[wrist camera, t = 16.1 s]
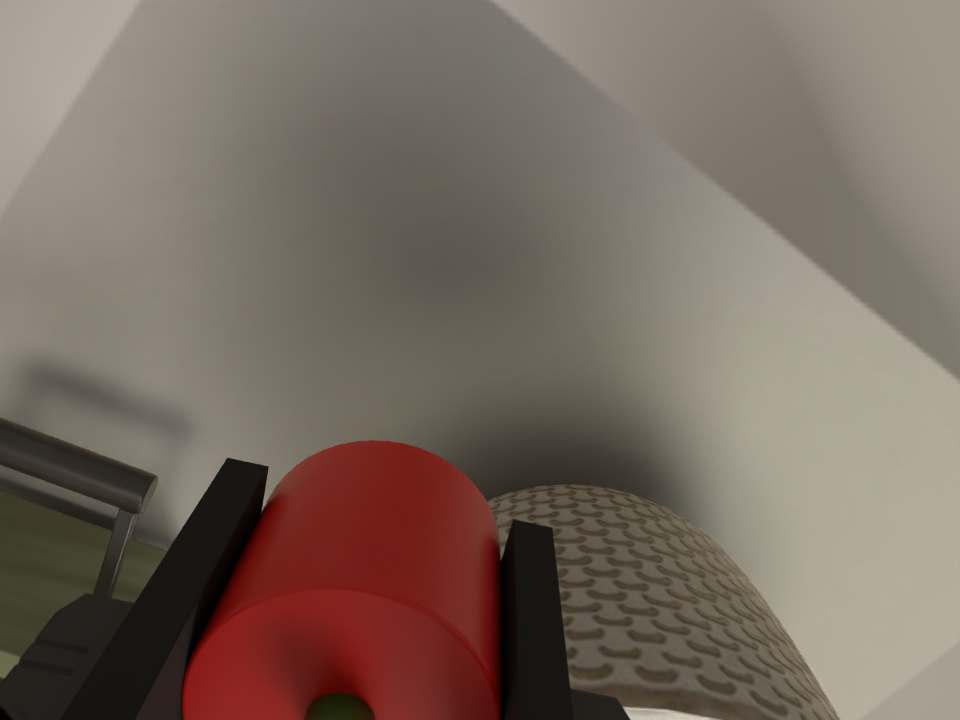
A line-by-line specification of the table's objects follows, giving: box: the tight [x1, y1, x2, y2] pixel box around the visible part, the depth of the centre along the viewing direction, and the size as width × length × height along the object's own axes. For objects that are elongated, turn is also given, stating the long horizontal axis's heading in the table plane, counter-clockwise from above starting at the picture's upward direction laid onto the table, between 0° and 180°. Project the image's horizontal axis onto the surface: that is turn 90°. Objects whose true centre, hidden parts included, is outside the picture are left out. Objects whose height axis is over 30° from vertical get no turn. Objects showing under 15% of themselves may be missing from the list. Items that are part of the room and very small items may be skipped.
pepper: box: [181, 440, 502, 720], centre depth 13 cm, size 5×5×6 cm
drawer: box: [0, 418, 167, 684], centre depth 33 cm, size 19×10×8 cm, turn 157°
